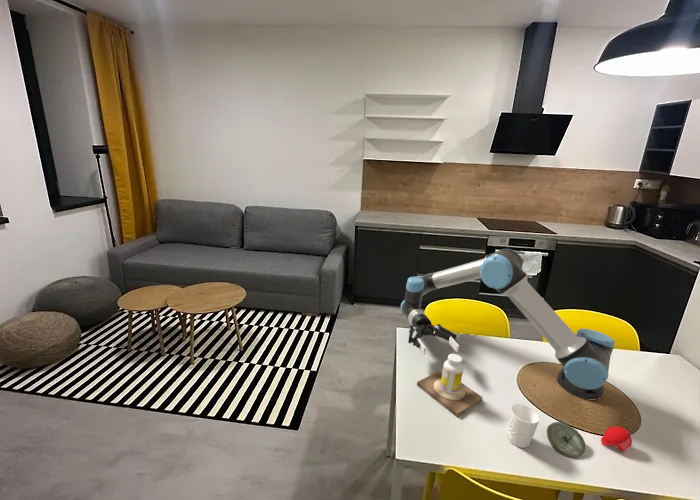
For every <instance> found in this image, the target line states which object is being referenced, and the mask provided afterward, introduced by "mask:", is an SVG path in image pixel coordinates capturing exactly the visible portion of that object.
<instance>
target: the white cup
mask: <svg viewBox="0 0 700 500" xmlns="http://www.w3.org/2000/svg"><path fill="white" fill-rule="evenodd" d="M540 420H541V419H540V415H539V414H538V412H537V411H536V410H535V409H534V408H532V407H531V406H529V405H526V404H524V403H515V404H512V405H511V406H510V411H509V415H508V422H507V427H506V434H505V436H506V438H507V440H508V441H509V443H511V444H512V445H514V446H516V447H518V448H521V449H525V448H527V447H529V446H530V444H531V442H532V440H533V438H534V435H535V432H536V430H537V427H538V424H539V422H540Z"/></svg>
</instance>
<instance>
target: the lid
mask: <svg viewBox="0 0 700 500" xmlns="http://www.w3.org/2000/svg"><path fill="white" fill-rule="evenodd" d="M546 436H547V439H548V441H549V443H550V446H551V447H552V448H553V449H554V450H555V451H556V452H558V453H559V454H561V455H562V456H564V457H567V458H571V459H579V458H580V457H582V456H583V455H584V453H585V452H586V442H585V439H584V438H583V436H582V435H581V434H580V432H579V431H578V430H577V429H575V428H574V427H573V426H571V425H569V424H568V423H565V422H561V421H555V422H554V421H553V422H552V423H550V424H549V425H548V426H547V428H546Z"/></svg>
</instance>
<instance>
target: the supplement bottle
mask: <svg viewBox="0 0 700 500" xmlns="http://www.w3.org/2000/svg"><path fill="white" fill-rule="evenodd" d="M462 362H463V358H462V357H461V356H460V355H459V354H456V353H450V354H448V356H447V360H445V361H444V362H443V365H442V366H443V367H442V370H443V372H442V378H441V384H440V386H441V388H442V390H443V391H445V392H447V393H449V394H456V393H458V392H459V389H460V384H461V383H462V378H463V373H464V366H463V364H462Z"/></svg>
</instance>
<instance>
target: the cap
mask: <svg viewBox="0 0 700 500" xmlns="http://www.w3.org/2000/svg"><path fill="white" fill-rule="evenodd" d="M601 442H602V443H601ZM600 443H601V445H603V446H605V447H606V446H607V447H609V446H612V445H613V446H615V447H616V448H617V449H618V451H620V452H621V451H624V452H625V451H627V450H628V449H630V448H631V446H632V445H633V439H632V437H631V433H630V432H629V431H628V430H627V429H626V428H624V427H622V426H611V427H610V426H608V427H607V429H606V430H605V432H604V434H603V436H601V439H600Z"/></svg>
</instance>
